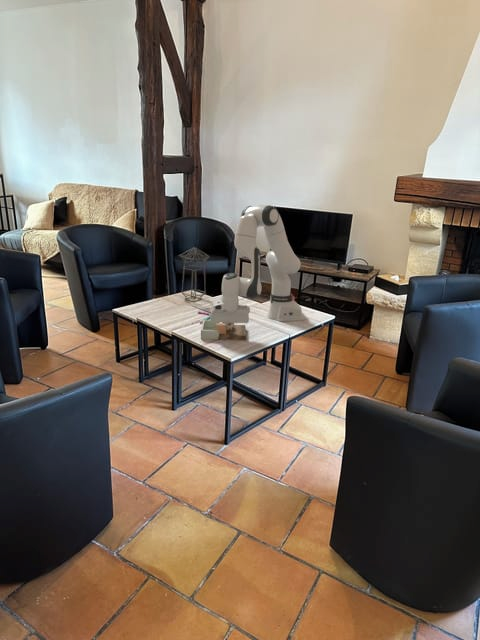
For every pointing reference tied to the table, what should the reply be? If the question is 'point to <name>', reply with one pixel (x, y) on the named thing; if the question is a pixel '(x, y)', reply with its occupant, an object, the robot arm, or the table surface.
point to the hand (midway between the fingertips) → (229, 329)
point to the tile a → (221, 328)
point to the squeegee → (204, 314)
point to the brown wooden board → (234, 333)
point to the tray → (209, 330)
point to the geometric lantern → (193, 270)
